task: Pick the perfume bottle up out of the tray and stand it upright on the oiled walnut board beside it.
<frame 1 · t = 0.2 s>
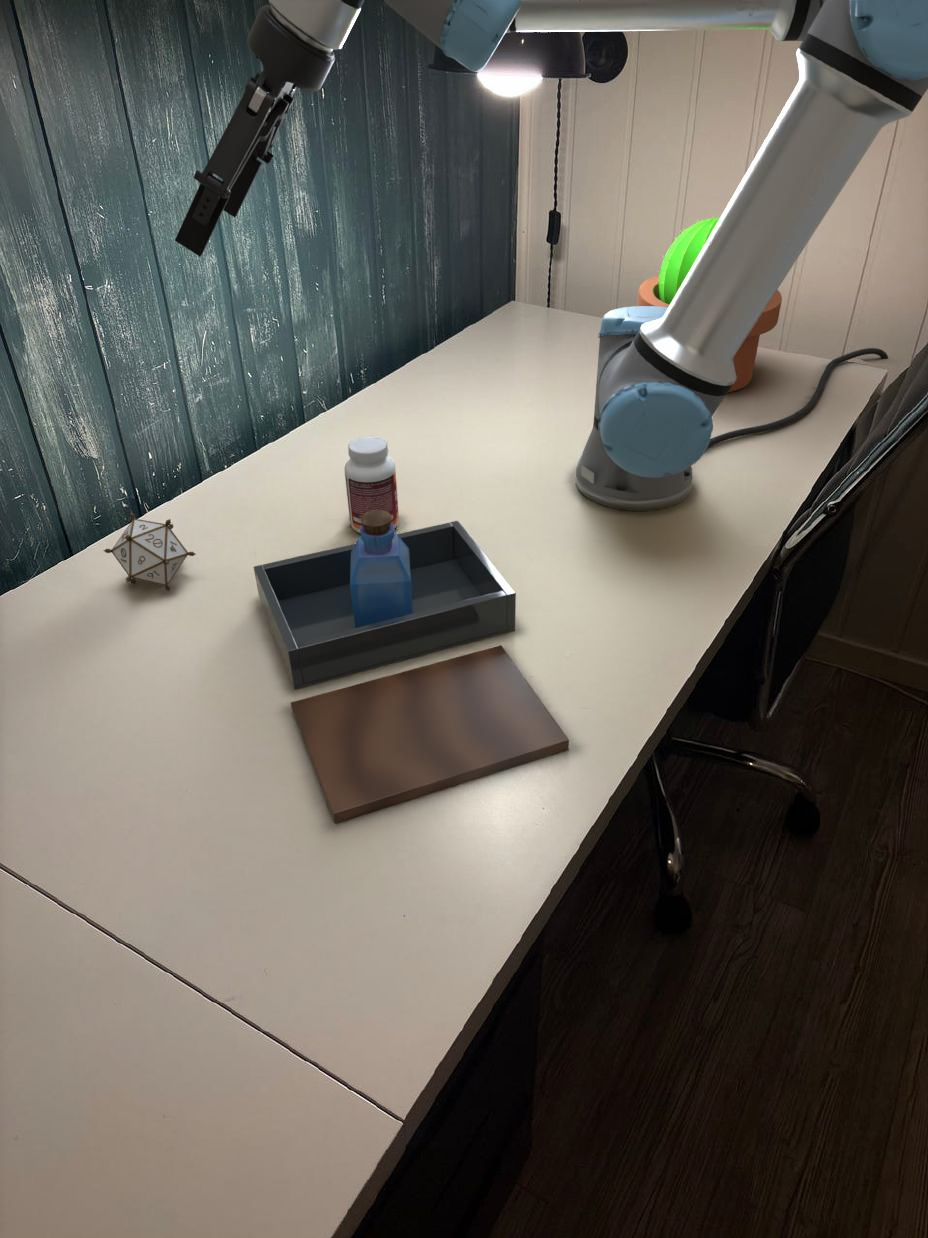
hand: (207, 227, 95), 35 cm above the table, tool tilted 35°, fingers open, 13 cm apart
board: (426, 730, 86), on the table
game die: (158, 582, 106), on the table
potted cactus: (697, 375, 152), on the table
tray: (384, 616, 100), on the table
perfume bottle: (384, 614, 100), resting on tray
pill bottle: (374, 525, 116), on the table
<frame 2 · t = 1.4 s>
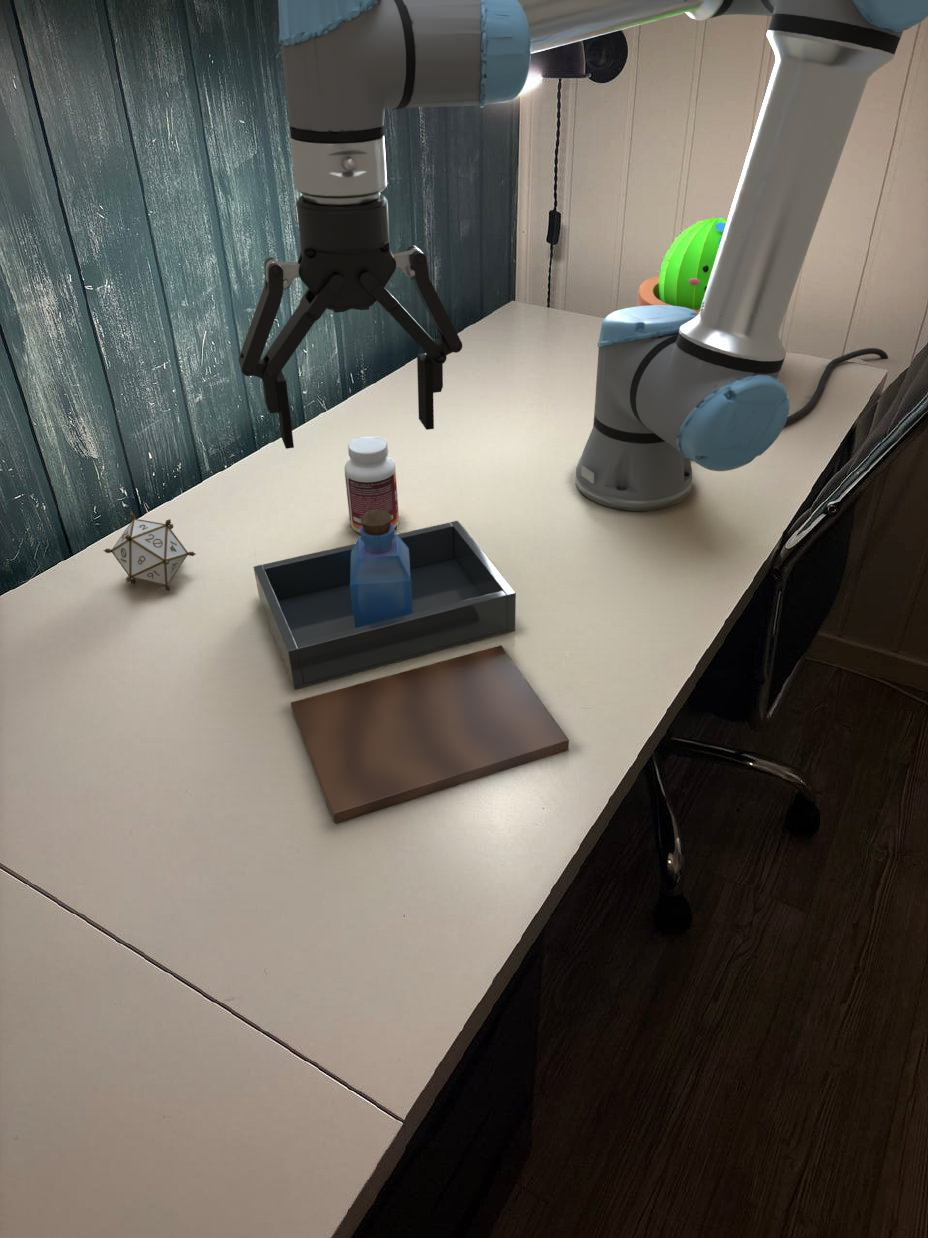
hand: (358, 433, 88), 21 cm above the table, tool pointing down, fingers open, 13 cm apart
nothing on the table moved.
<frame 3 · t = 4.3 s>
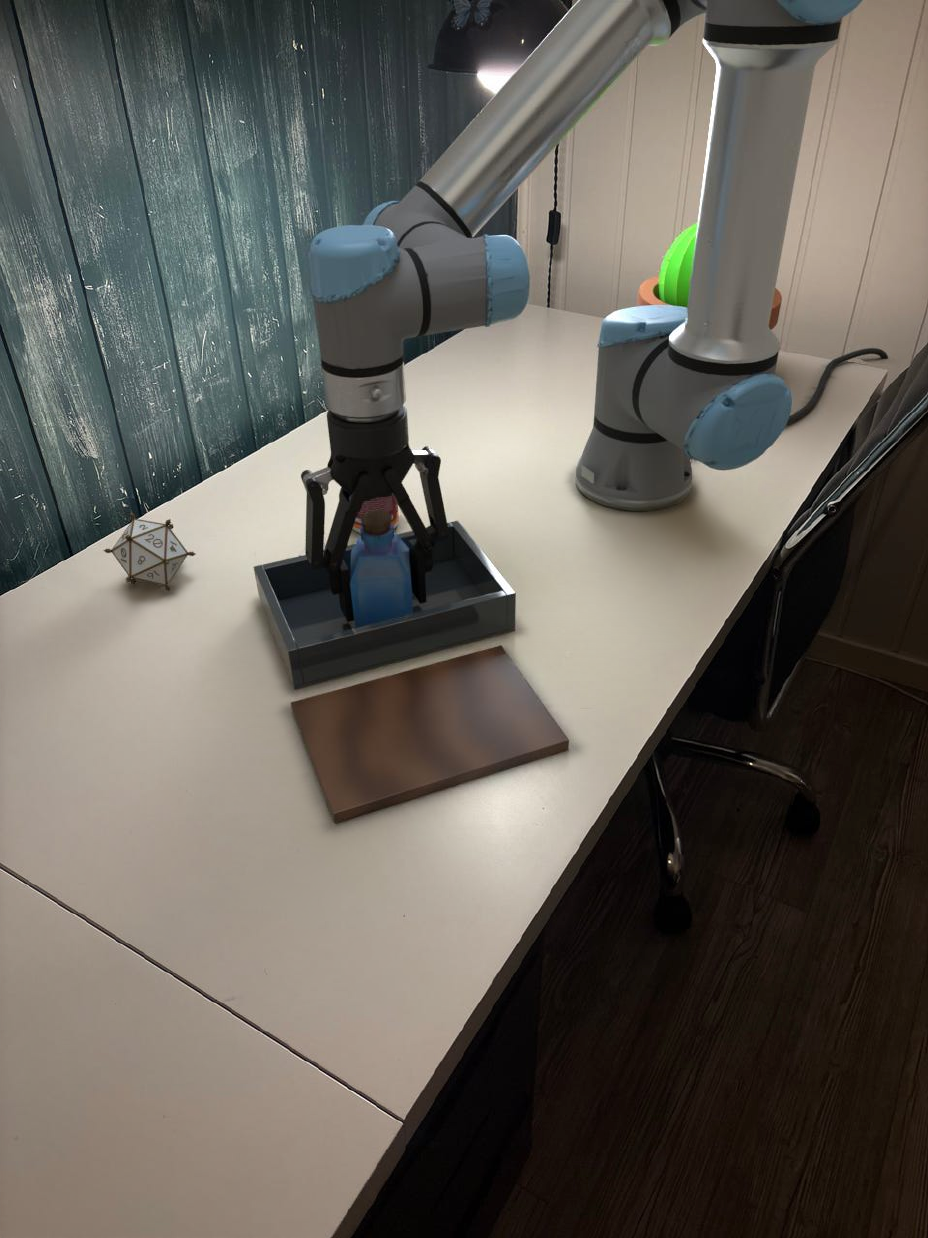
hand: (383, 604, 99), 2 cm above the table, tool pointing down, fingers closed on perfume bottle, 7 cm apart
perfume bottle: (384, 614, 100), resting on tray, touching gripper
everything else where it was.
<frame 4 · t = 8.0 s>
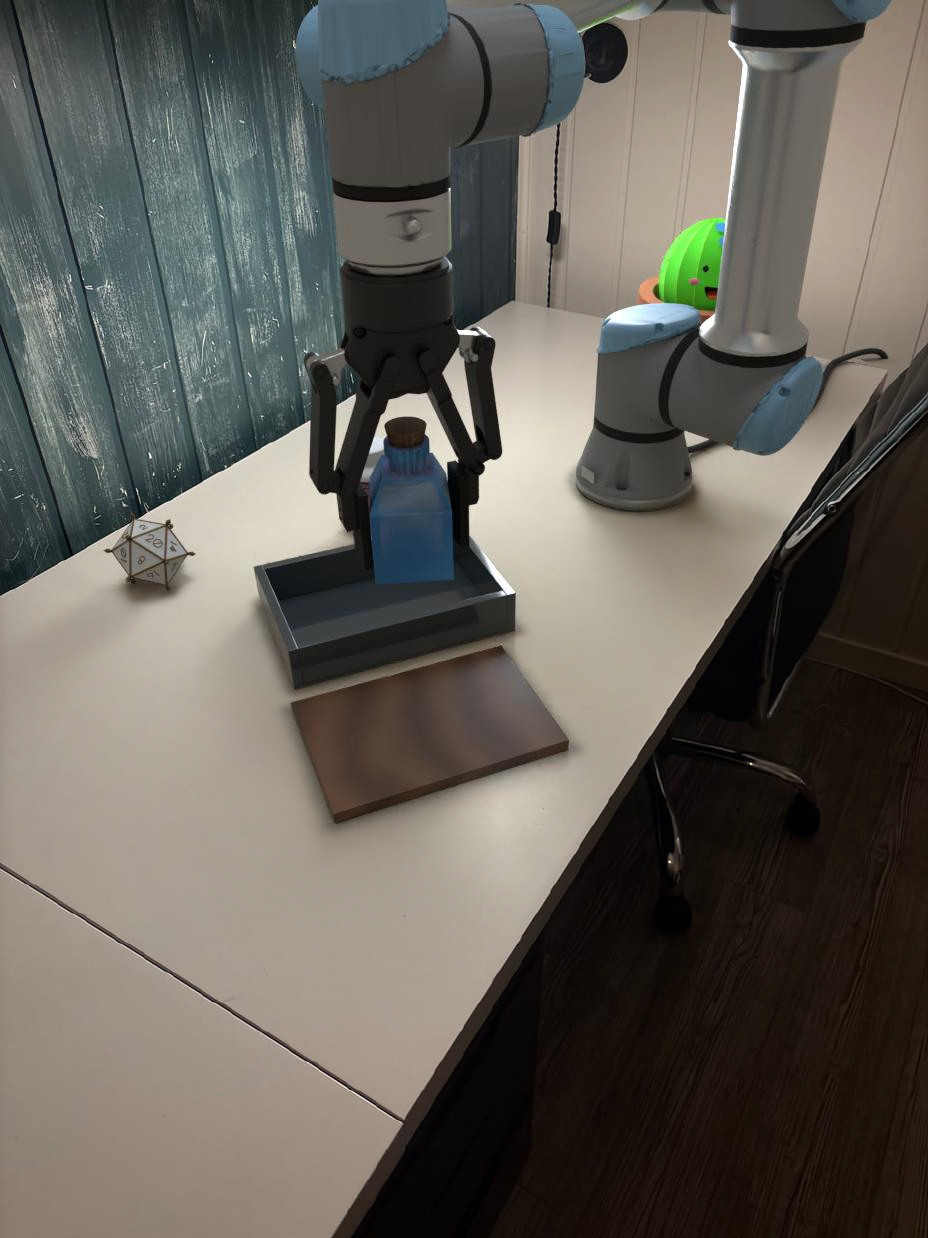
hand: (412, 549, 75), 19 cm above the table, tool pointing down, fingers closed on perfume bottle, 7 cm apart
perfume bottle: (413, 562, 75), point 18 cm above the table, touching gripper
everything else where it was.
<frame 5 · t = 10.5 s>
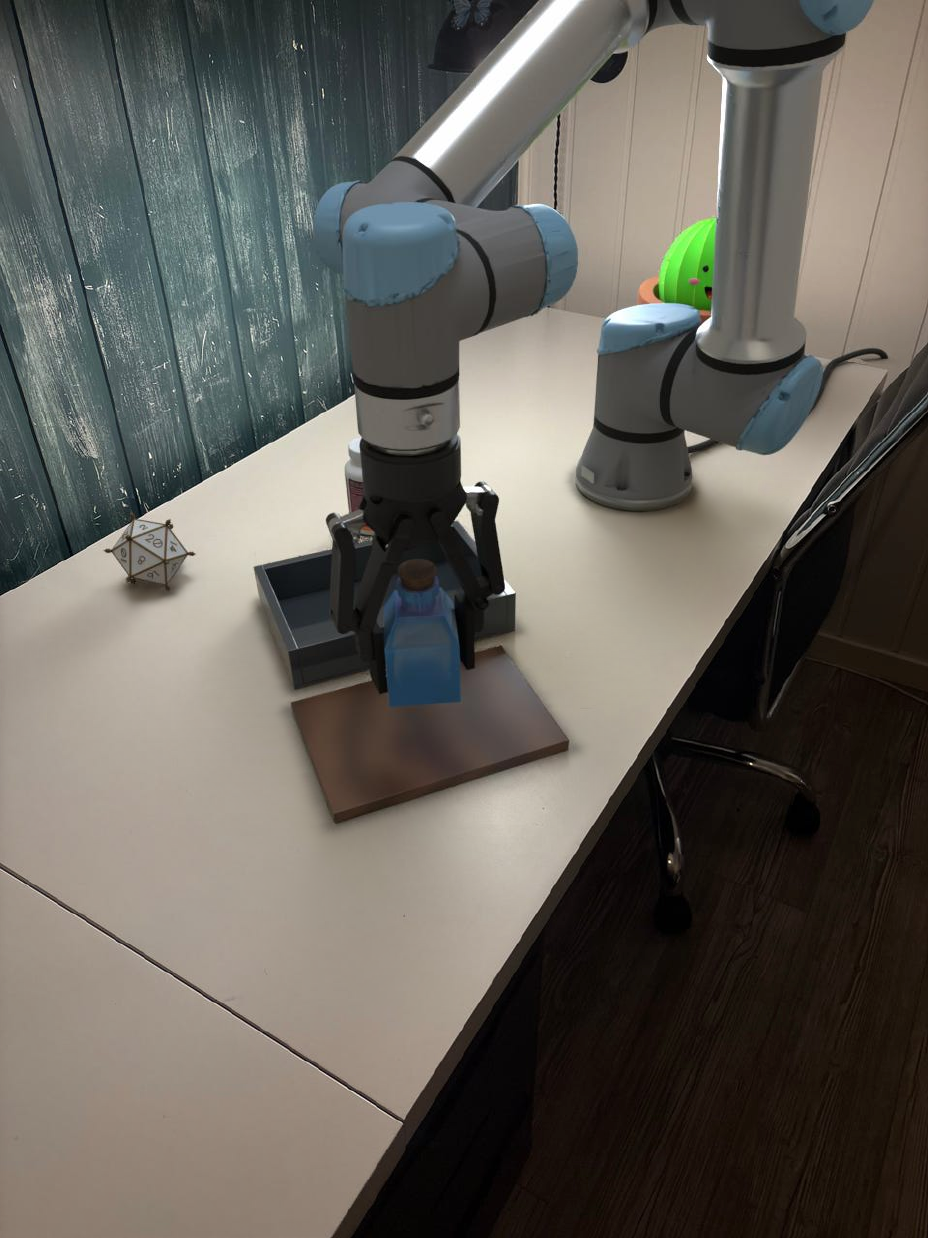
hand: (422, 671, 81), 7 cm above the table, tool pointing down, fingers closed on perfume bottle, 7 cm apart
perfume bottle: (423, 682, 82), point 6 cm above the table, touching gripper
everything else where it was.
when the fingers open (2 cm above the table, at t = 12.1 s): perfume bottle stays where it is, resting on board.
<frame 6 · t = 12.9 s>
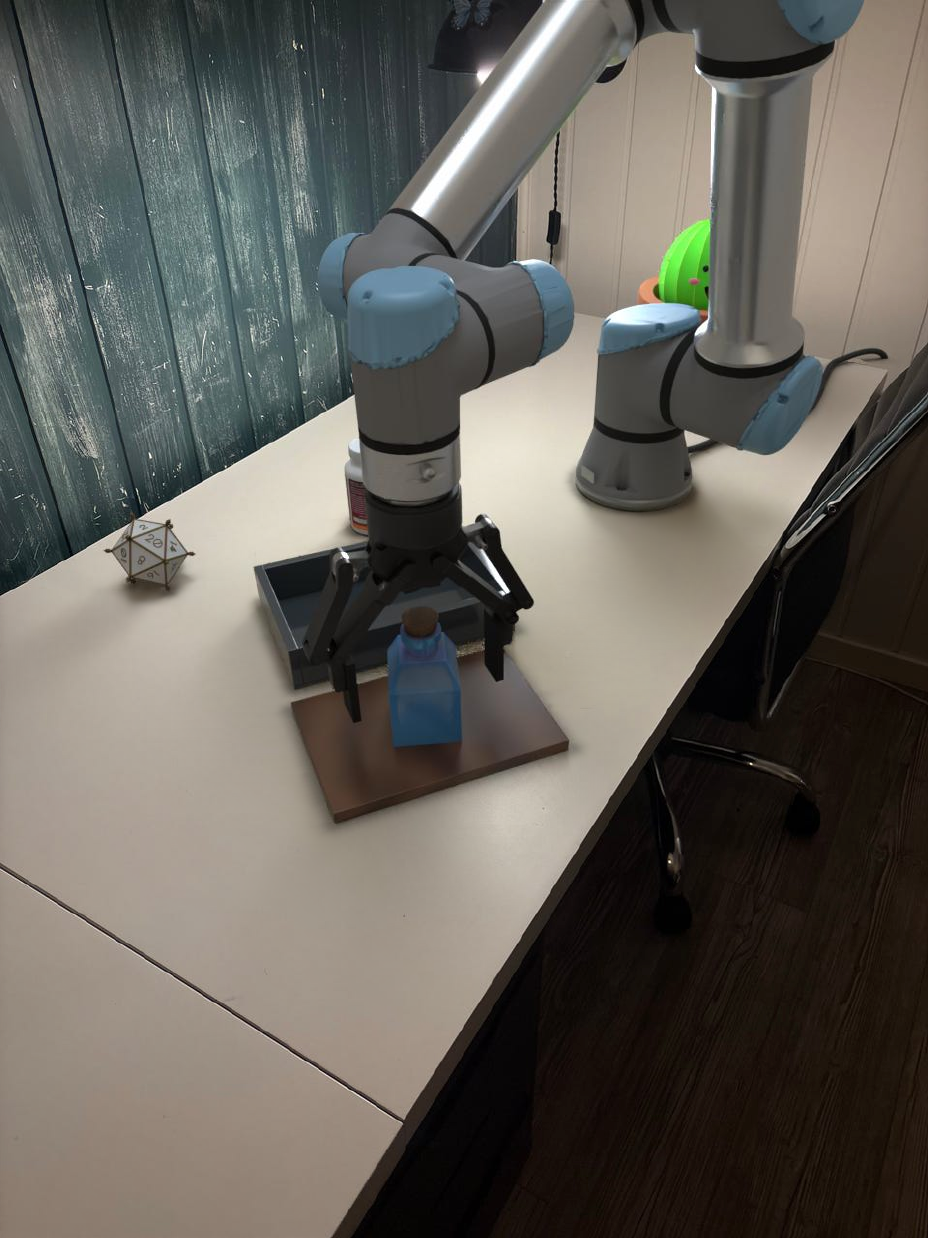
hand: (425, 692, 83), 5 cm above the table, tool pointing down, fingers open, 13 cm apart
perfume bottle: (426, 722, 85), point 1 cm above the table, touching board
everything else where it was.
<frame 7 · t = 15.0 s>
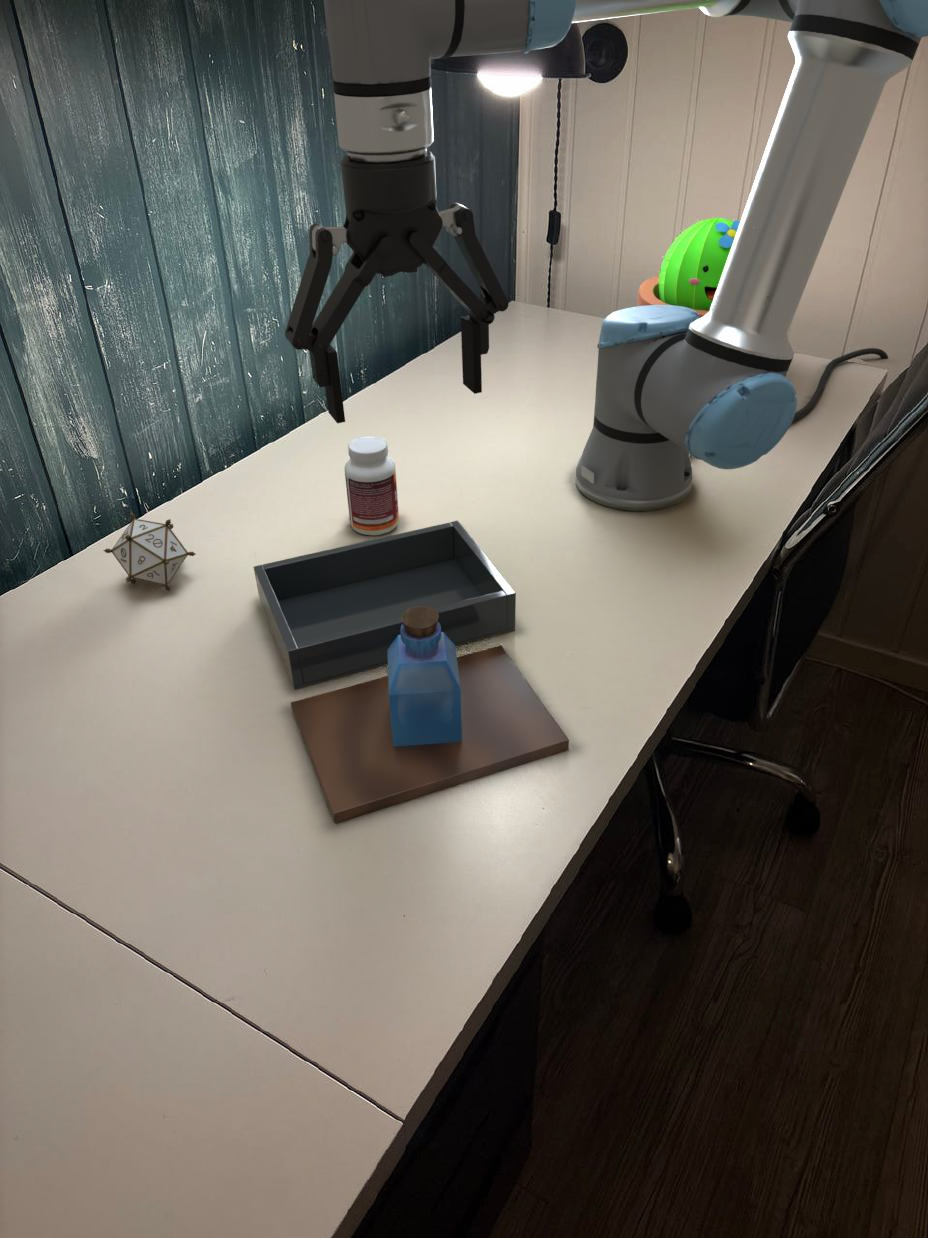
hand: (406, 402, 86), 24 cm above the table, tool pointing down, fingers open, 13 cm apart
nothing on the table moved.
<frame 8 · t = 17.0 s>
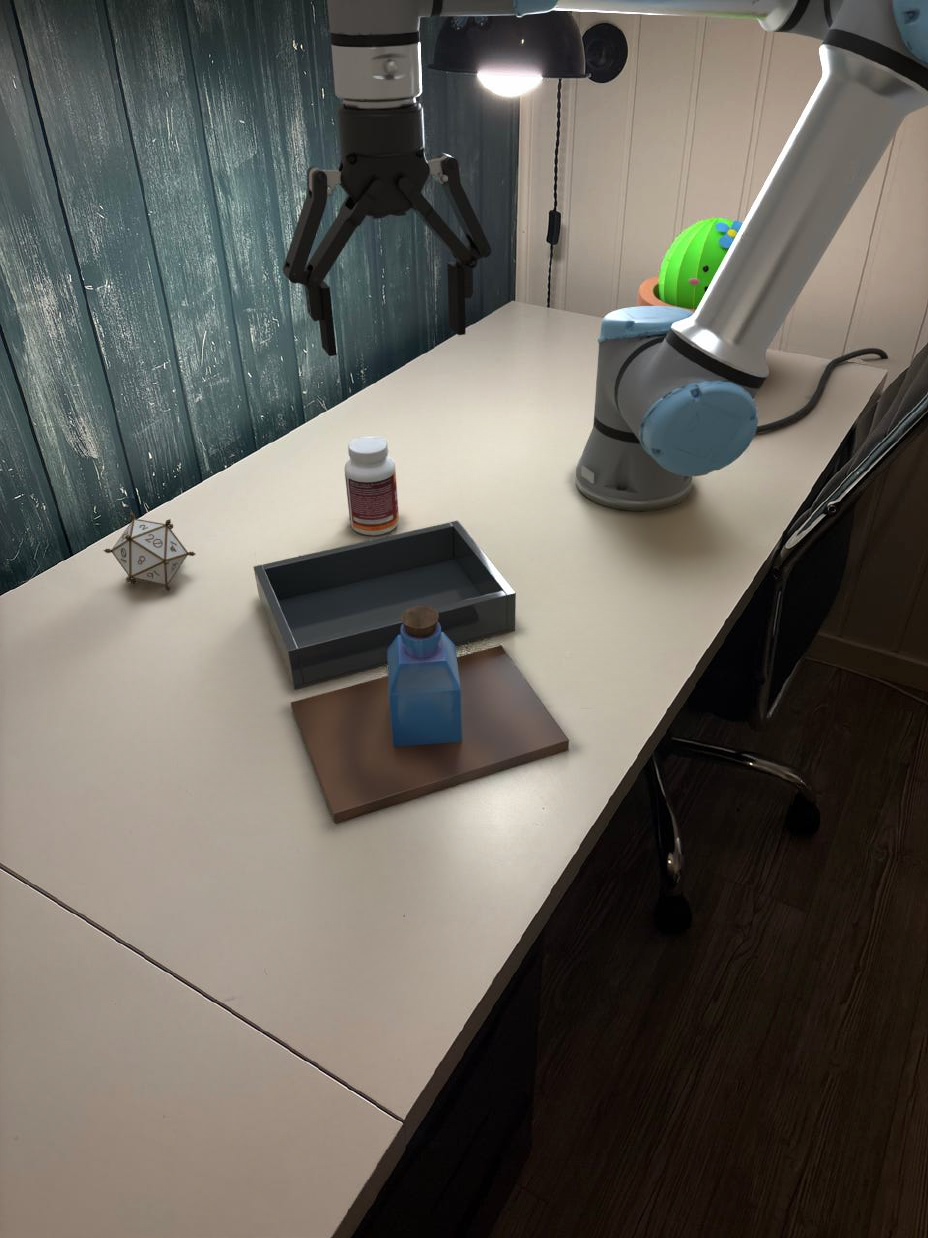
hand: (394, 341, 92), 27 cm above the table, tool pointing down, fingers open, 13 cm apart
nothing on the table moved.
at the end: perfume bottle inside the target area on the board (0.0 cm from its centre), point 1.0 cm above the board's base; perfume bottle tilted 0°; the gripper is holding nothing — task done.
